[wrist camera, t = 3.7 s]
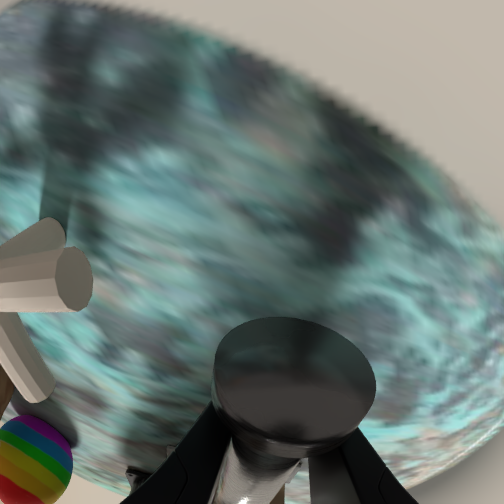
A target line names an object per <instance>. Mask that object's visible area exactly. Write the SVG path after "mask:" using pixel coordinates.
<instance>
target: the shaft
mask: <svg viewBox="0 0 504 504" xmlns="http://www.w3.org/2000/svg"><path fill="white" fill-rule="evenodd" d="M375 393H376V380H375V376H374V373H373V370H372V367H371V366H370V364H369V362H368V360H367V359H366V357H365V356H364V355H363V353H362V352H361V351H360V350H359V349H358V348H357V347H356V346H355V345H354V344H353V343H351V342H350V341H349V340H347V339H346V338H345V337H343V336H342V335H340V334H338V333H337V332H335V331H333V330H331V329H329V328H327V327H324V326H322V325H319V324H316V323H313V322H310V321H306V320H301V319H296V318H288V317H268V318H260V319H256V320H252V321H249V322H246V323H243V324H241V325H239V326H237V327H236V328H234V329H233V330H231V331H230V332H229V333H228V334H227V335H226V336H225V337H224V338H223V339H222V341H221V342H220V344H219V346H218V348H217V351H216V354H215V361H214V369H213V376H212V384H211V397H212V402H213V406H214V408H215V410H216V413H217V415H218V416H219V418H220V420H221V421H222V423H223V424H224V425H225V426H226V427H227V429H228V430H229V431H230V432H231V433H232V438H231V442H230V446H229V449H228V453H227V456H226V459H225V462H224V466H223V469H222V472H221V476H220V480H219V484H218V487H217V491H216V495H215V499H214V503H213V504H269V503H270V502H271V501H272V499H273V498H274V497H275V495H276V494H277V493H278V491H279V490H280V489H281V487H282V486H283V484H284V483H285V482H286V480H287V479H288V477H289V476H290V475H291V473H292V472H293V470H294V469H295V467H296V466H297V464H298V463H299V461H300V460H301V459H302V458H307V457H314V456H318V455H322V454H325V453H327V452H329V451H332V450H334V449H335V448H337V447H339V446H340V445H342V444H343V443H344V442H345V441H346V440H347V439H348V438H349V437H350V436H351V435H352V434H353V432H354V431H355V429H356V428H357V427H358V425H359V424H360V422H361V421H362V420H363V418H364V417H365V415H366V414H367V412H368V411H369V409H370V408H371V406H372V404H373V401H374V398H375Z"/></svg>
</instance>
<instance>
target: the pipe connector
mask: <svg viewBox="0 0 504 504" xmlns="http://www.w3.org/2000/svg"><path fill="white" fill-rule="evenodd" d="M65 243H66V237H65V232H64V230H63V228H62V226H61V225H60V223H59V222H58V221H57V220H55V219H53V218H50V217H46V218H43V219H42V220H40V221H38V222H37V223H35V224H33V225H32V226H30V227H29V228H27V229H25V230H24V231H22V232H21V233H19V234H18V235H16V236H15V237H13V238H11V239H10V240H8V241H7V242H5V243H4V244H2V245H1V246H0V364H1V365H2V367H3V368H4V370H5V371H6V373H7V374H8V376H9V377H10V379H11V380H12V382H13V383H14V385H15V386H16V388H17V389H18V390H19V392H20V393H21V394H22V396H23V397H24V398H25V400H27V401H28V402H30V403H39V402H41V401H43V400H45V399H47V398H48V397H49V395H50V394H51V393H52V392H53V391H54V388H55V385H56V382H55V379H54V377H53V375H52V374H51V372H50V371H49V369H48V367H47V366H46V364H45V363H44V361H43V359H42V358H41V356H40V354H39V353H38V351H37V349H36V347H35V346H34V344H33V342H32V340H31V338H30V337H29V335H28V333H27V331H26V329H25V327H24V325H23V323H22V321H21V319H20V318H19V316H18V313H17V312H78V311H80V310H82V309H83V308H85V307H87V305H88V302H89V300H90V298H91V296H92V288H93V276H92V271H91V266H90V263H89V261H88V260H87V258H86V256H85V254H84V252H82V251H81V250H79V249H78V248H76V247H74V246H73V247H67V248H64V246H65Z"/></svg>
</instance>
